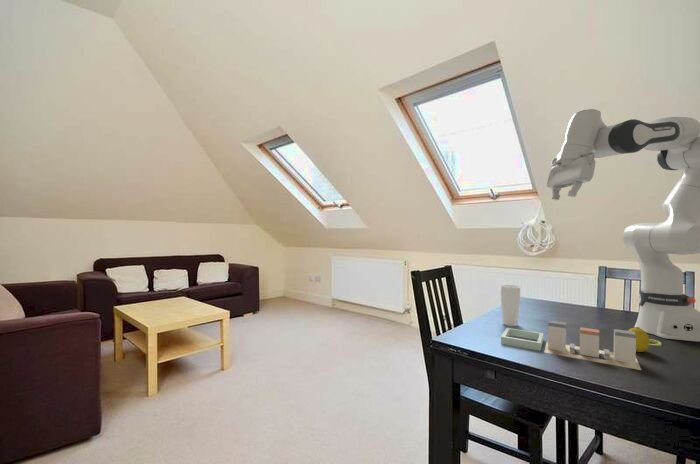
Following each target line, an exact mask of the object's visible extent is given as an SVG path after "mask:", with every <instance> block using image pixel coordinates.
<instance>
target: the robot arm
mask: <svg viewBox="0 0 700 464" xmlns="http://www.w3.org/2000/svg"><path fill="white" fill-rule="evenodd" d="M566 128H567V129H566V132H565V134H564V136H565V137H564V139H565V140H564V142H563V144H562V146H561V149H560V152H559V153H558V154H557V155H556V156H555V157H554V158H553V159H552V160H551V163H550V166H551V168H550V169H549V173H548V177H547V180H546V186H547V188H549V189H552V190H551V191H552V196H551V199H552V200H553V201H558V200H560V198H561V195H560V191H561V189H564V188H567V187H571V189H570V190H568V194H567V196H568V197H570V198H576V197H577V194H578V192H579V190H580V189H581V187H582V186H583V184H584V183H587V182H589V183H590V182H591V180H592V179H593V176H594V173H595V168H596V159H600V158H601V159H602V158H605V157H606V158H607V157H613V156H618V155H624V154H632V153H633V154H634V153H637V152H640V151H642V150H643V149H644V150H646V151H654V152H657V151H658V152H657V155H656V161H657V163H658V166H660V168H662V169H663V170H667V171H679V170H684V171H683V175H682V176H681V178H680V179H678V181H677V182H676V183H675V185H674V187H673V188H672V189H671V191H670V192H669V194H668V195H667V197H666V198H665V200H664V201H663V202H662V204H661V207H662V208H661V209H662V212H663V213H664V215H665V216H667V217H668V218H667V219H666V220H665V221H662V222H658V221H657V222H649V221H648V222H639V223H635V224H630V225H629V226H627V227H625V229H624V231H623V234H622V241H623V243H624V245H625V246H626V247H627V248H628V249H630V251H631V252H632V253H633V254H634V256H635V258H636V259H637V262H638V264H639V268H640V289H639V293H638V304H639V310H638V315H637V319H636V322H635V325H634V327H633V328H635V327H639V328H640V329H642V330H644V331H645V332H646V333H647V334H651V335H654V336H657V337H659V338H663V339H669V340H679V341H689V342H697V343H700V310H697V309H696V308H695V307H693V306H692V304H693V305H694V304H695V303H696V299H695V298H694V297H692V296H689V295H687V294H685V293H684V272H683V271H682V269H681V268H680V267H679V266H677V265H675V263H673V262H672V261H671V259H670V257H669V255H679V256H686V255H695V254H700V122H699V121H698V119H696V118H693V117H687V116H669V117H662V118H661V117H660V118H657V119H654V120H651V121H648V122H644V121H642V120H639V119H634V118H631V119H628V120H625V121H622V122H619V123H616V124H612V125H609V126H608V125H606V124H605V122H604V121H603V119H602V112H601V111H600V110H598V109H593V108H592V109H591V108H589V109H583V110H581V111H578V112H576V113H574V114H573V115H572V117H571V119H570V120H569V122H568V126H567V127H566Z"/></svg>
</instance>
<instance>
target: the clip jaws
mask: <svg viewBox="0 0 700 464" xmlns="http://www.w3.org/2000/svg"><path fill="white" fill-rule="evenodd" d="M569 345H570V353H572V354H575V355H576V351H575V350H576V349H575V346H576V345H575V343H571V342H570V343H569ZM603 351H604V354H603V358H604V359H603V360H610V352H611V351H610V349H608V348H603Z"/></svg>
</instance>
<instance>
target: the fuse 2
mask: <svg viewBox="0 0 700 464" xmlns="http://www.w3.org/2000/svg"><path fill="white" fill-rule="evenodd" d="M613 352H614V356H613V357H614V360H615V361H621V362H627V363H633V364H635V362H636V359H637V356H636V355H637V353H636V334H635V332H633V331H628V330H625V329H624V330H623V329H616V328H613Z"/></svg>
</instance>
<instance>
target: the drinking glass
mask: <svg viewBox="0 0 700 464" xmlns="http://www.w3.org/2000/svg"><path fill="white" fill-rule="evenodd" d="M500 303H501V305H500V306H501V317H502V319H501V321H502V322H501V323H502V324H503V325H505V326H508V327H509V326H510V327H516V326H519V313H520V305H521V287H520V286H519V285H512V284H503V285H500Z"/></svg>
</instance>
